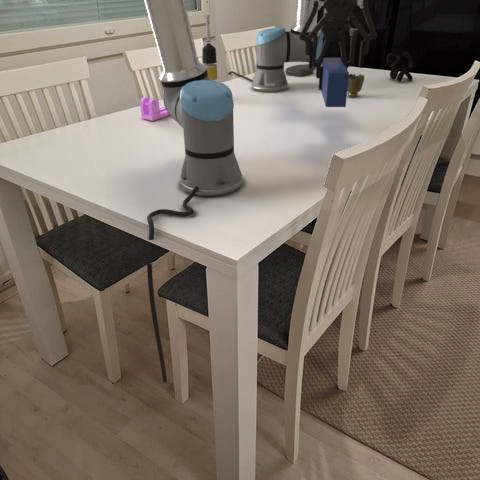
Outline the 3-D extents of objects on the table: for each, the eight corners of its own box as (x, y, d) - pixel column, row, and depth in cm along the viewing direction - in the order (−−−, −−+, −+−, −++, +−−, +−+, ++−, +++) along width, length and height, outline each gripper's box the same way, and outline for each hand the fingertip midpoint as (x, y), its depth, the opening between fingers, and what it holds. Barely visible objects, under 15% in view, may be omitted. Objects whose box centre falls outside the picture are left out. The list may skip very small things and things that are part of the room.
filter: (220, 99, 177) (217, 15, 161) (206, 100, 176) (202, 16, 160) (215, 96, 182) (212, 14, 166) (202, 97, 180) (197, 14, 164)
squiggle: (400, 92, 202) (376, 71, 205) (417, 76, 202) (392, 56, 205) (405, 81, 191) (380, 59, 194) (423, 64, 191) (397, 42, 194)
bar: (345, 107, 125) (349, 73, 120) (325, 106, 125) (328, 73, 120) (337, 87, 144) (340, 57, 139) (320, 87, 144) (322, 57, 139)
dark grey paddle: (283, 74, 214) (310, 66, 231) (302, 77, 208) (328, 69, 225) (283, 67, 213) (310, 60, 229) (302, 70, 207) (329, 62, 223)
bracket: (152, 121, 154) (150, 100, 151) (141, 118, 157) (139, 98, 154) (178, 112, 163) (177, 92, 159) (167, 109, 166) (165, 90, 162)
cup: (340, 97, 177) (342, 76, 172) (346, 93, 182) (348, 72, 178) (359, 99, 174) (362, 78, 169) (364, 95, 179) (366, 74, 175)
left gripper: (390, -25, 113) (379, 63, 124) (291, -22, 115) (289, 65, 127) (396, -24, 107) (384, 69, 118) (292, -21, 109) (289, 70, 120)
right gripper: (368, 4, 130) (358, 86, 143) (304, 5, 132) (299, 86, 144) (372, 6, 124) (361, 92, 136) (305, 7, 125) (300, 92, 138)
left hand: (335, 67), depth 122 cm, fingers open, 13 cm apart
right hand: (330, 88), depth 140 cm, fingers closed on bar, 5 cm apart
